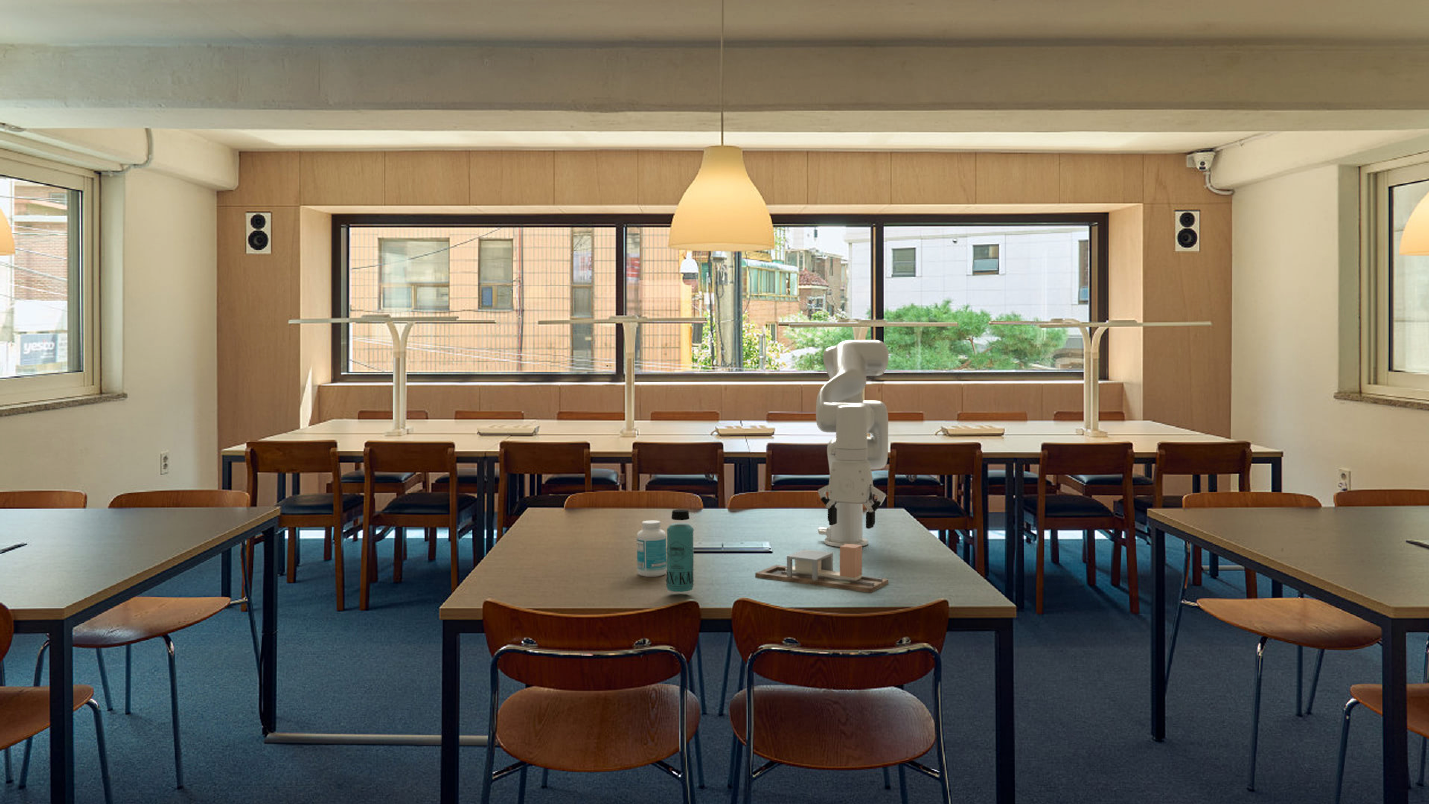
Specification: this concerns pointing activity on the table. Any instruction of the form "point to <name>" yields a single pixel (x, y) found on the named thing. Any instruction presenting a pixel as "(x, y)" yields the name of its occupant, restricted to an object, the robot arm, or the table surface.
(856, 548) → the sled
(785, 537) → the table surface
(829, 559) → the bridge tunnel
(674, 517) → the beverage bottle
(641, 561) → the pill bottle
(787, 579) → the rail board
